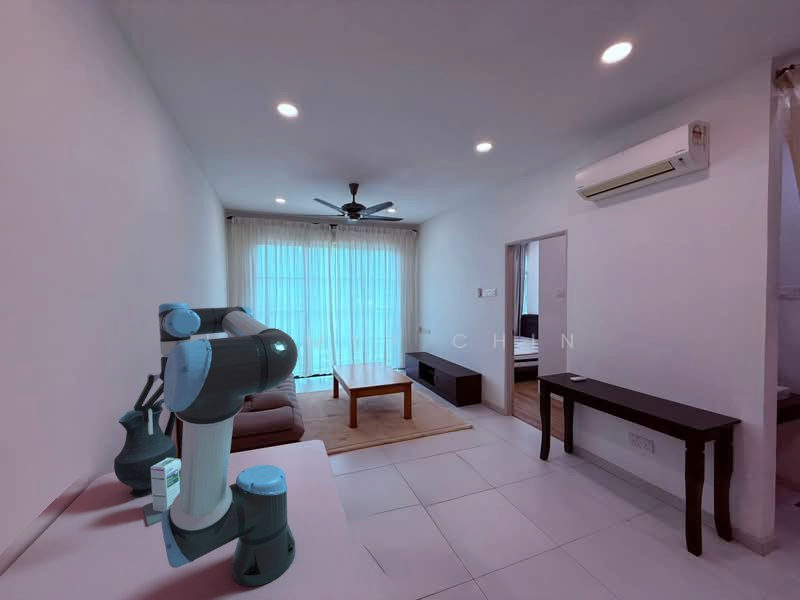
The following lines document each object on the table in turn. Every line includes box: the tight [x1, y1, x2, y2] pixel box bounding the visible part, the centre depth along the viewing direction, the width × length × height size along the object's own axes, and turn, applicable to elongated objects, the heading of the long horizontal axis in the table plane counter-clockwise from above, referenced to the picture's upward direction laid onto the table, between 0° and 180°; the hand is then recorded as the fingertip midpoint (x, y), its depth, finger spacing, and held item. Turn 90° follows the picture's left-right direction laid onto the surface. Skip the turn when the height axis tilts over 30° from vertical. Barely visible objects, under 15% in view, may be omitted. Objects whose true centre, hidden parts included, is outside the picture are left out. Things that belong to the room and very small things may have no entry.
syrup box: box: [151, 457, 181, 512], centre depth 103 cm, size 6×6×14 cm
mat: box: [142, 501, 163, 527], centre depth 103 cm, size 12×12×1 cm
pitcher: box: [113, 398, 177, 498], centre depth 115 cm, size 17×21×30 cm
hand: (179, 425), depth 94 cm, fingers open, 13 cm apart
